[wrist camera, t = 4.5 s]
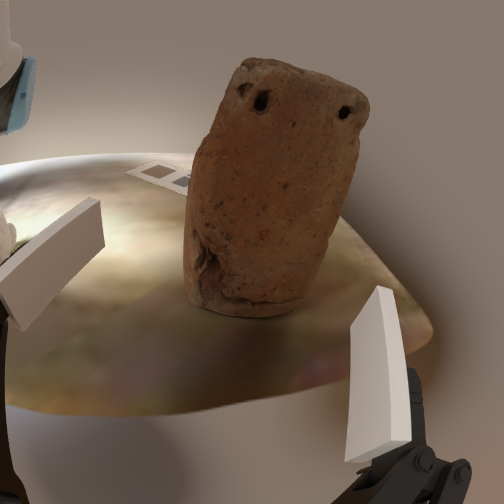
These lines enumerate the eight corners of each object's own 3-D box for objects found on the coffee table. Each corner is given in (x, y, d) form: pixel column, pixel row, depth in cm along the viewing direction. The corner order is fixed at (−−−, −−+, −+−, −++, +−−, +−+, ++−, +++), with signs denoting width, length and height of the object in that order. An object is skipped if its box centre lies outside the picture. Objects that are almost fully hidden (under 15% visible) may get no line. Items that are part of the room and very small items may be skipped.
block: (282, 268, 30) (340, 83, 18) (302, 322, 25) (395, 97, 13) (182, 264, 28) (207, 52, 16) (180, 323, 22) (210, 44, 10)
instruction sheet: (125, 173, 42) (125, 171, 42) (154, 161, 48) (154, 159, 48) (195, 199, 39) (195, 196, 39) (221, 183, 45) (221, 181, 45)
